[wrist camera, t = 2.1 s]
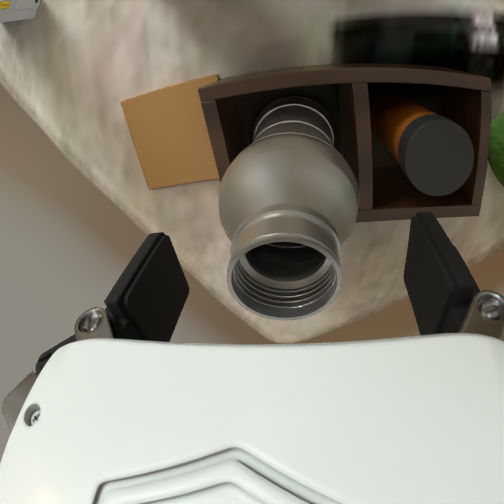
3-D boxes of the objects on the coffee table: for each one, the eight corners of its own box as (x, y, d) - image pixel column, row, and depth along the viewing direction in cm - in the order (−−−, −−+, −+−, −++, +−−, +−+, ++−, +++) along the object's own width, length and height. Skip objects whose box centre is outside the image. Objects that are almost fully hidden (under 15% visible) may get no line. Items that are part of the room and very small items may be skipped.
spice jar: (367, 94, 22) (404, 118, 14) (421, 95, 21) (476, 122, 13) (371, 148, 25) (403, 198, 17) (421, 147, 24) (469, 196, 16)
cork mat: (122, 101, 25) (120, 102, 25) (217, 74, 23) (216, 74, 23) (150, 188, 31) (148, 189, 31) (240, 174, 29) (239, 175, 28)
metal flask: (342, 146, 26) (401, 320, 10) (274, 170, 28) (238, 355, 12) (315, 81, 22) (362, 153, 7) (244, 109, 25) (143, 236, 9)
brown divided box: (224, 78, 23) (197, 88, 17) (444, 67, 19) (491, 78, 13) (248, 187, 30) (233, 232, 23) (443, 175, 25) (478, 216, 19)
